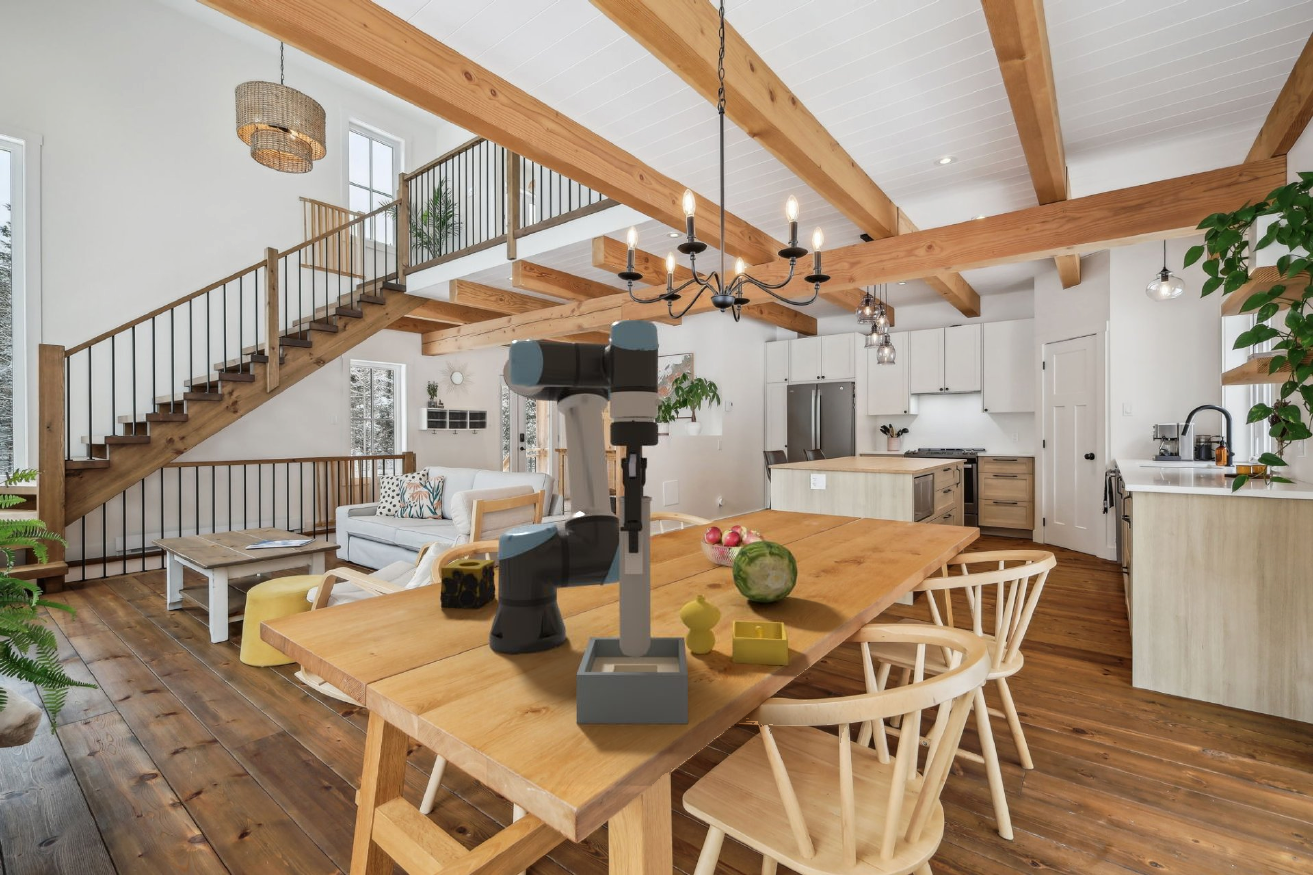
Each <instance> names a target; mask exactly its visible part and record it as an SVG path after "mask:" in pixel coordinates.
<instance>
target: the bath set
mask: <svg viewBox="0 0 1313 875" xmlns="http://www.w3.org/2000/svg"><path fill="white" fill-rule="evenodd" d="M721 616H722V614H721V611H720V609H719V608H718V606H717V605H715V604H714V603H712V602H710V601H708V600H706V596H705V595H704V594H696V595H695V600H692V601H690V602H687V603H686V604H684V606H683V607H682V608H681V609H680V611H679V619H680V620H681V622H682V623H683V624H684V626H686V627H687V628H688V629H689V630H688V631H687V633H686V635H685V646H686V647H687V648H688V650H689V651H690V652H692V653H693V654H697V655H705V654H708V653H709V652H710V651H712V649H713V648H714V647H715V644H716V637H715V634H714V632H713V631H712V629H713V628H715V627H716V626H717V625H718V623H719V622H720V620H721V618H722V617H721ZM788 639H789V638H788V634H787V630H786V627H785V622H779V621H776V622H775V621H773V622H772V621H747V620H733V621H732V663H733V664H752V665H754V664H755V665H756V664H757V665H766V666H780V665H783V666H785V667H789V640H788Z"/></svg>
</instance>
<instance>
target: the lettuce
mask: <svg viewBox="0 0 1313 875" xmlns="http://www.w3.org/2000/svg"><path fill="white" fill-rule="evenodd" d="M798 573H799V571H798V567H797V561H796V558H795V557H794V555H793V554H792V552H791V551H790V550H789V549H788V548H786V547H784V546H783V545H781V544H780V543H778V542H773V541H768V540H767V541H766V540H760V541H754V542H750V543H747V545H745V546H743V547H742V548H740V549H739V551H738V552H737V554H736V556H735V557H734V558H733V565H732V577H733V583H734V585H735V587H736V589H737V591H738V592H739V593H740V595H741V596H743V597H745V598H747V599H749V600H750V601H754V602H758V603H771V602H772V603H773V602H779V601H781V600H782V599H785V598H786V597H787V596H789V595H790V594H791V592H792V591H793V589H794V588H795V587H796V585H797V580H798Z"/></svg>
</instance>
